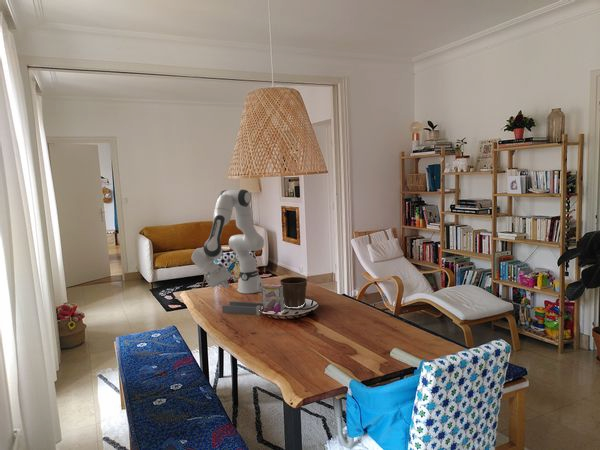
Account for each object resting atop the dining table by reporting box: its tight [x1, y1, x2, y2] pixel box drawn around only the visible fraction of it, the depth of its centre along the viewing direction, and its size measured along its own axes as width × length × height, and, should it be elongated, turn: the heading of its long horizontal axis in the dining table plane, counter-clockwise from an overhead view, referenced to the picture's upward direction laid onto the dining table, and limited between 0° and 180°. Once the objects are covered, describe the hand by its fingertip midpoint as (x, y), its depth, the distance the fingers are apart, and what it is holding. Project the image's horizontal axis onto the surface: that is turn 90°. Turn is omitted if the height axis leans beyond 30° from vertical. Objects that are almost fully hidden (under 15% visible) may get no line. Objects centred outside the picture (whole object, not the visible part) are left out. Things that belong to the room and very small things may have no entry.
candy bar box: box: [261, 283, 285, 312], centre depth 252 cm, size 11×5×16 cm, turn 69°
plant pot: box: [279, 276, 309, 307], centre depth 264 cm, size 16×16×16 cm
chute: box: [221, 300, 263, 316], centre depth 260 cm, size 12×24×5 cm, turn 70°
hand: (228, 287), depth 265 cm, fingers closed
